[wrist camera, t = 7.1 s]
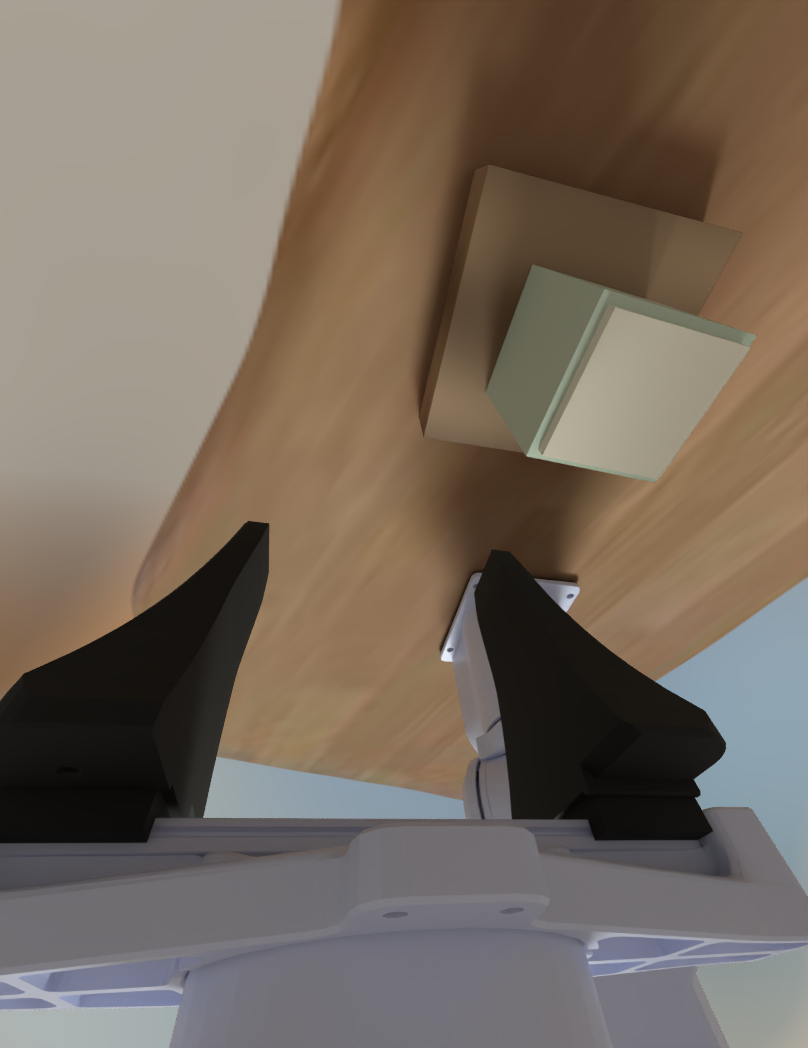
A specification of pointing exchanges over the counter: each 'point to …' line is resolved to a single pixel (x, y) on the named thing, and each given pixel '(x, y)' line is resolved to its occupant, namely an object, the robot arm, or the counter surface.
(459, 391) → the walnut block
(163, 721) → the robot arm
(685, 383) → the tea tin
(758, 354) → the counter surface
